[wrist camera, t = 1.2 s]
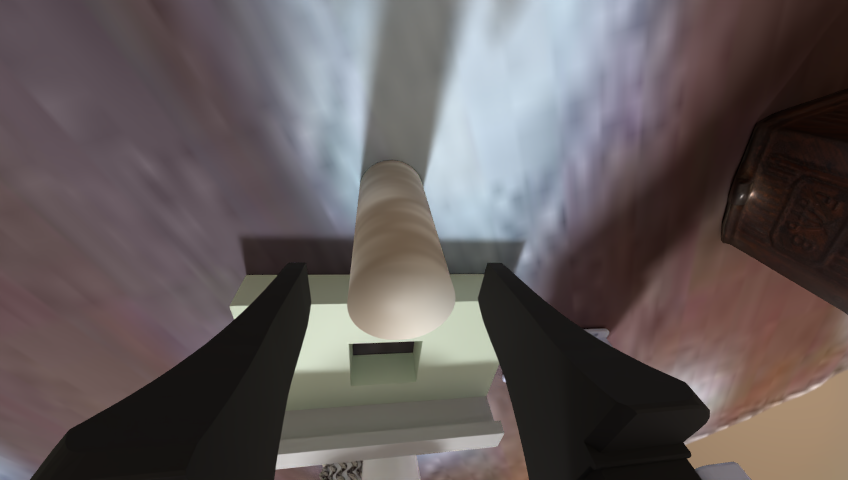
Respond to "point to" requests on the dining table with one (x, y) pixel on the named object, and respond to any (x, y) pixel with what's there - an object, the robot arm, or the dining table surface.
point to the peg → (397, 258)
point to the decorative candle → (342, 471)
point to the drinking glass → (391, 468)
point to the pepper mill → (796, 197)
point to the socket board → (384, 382)
